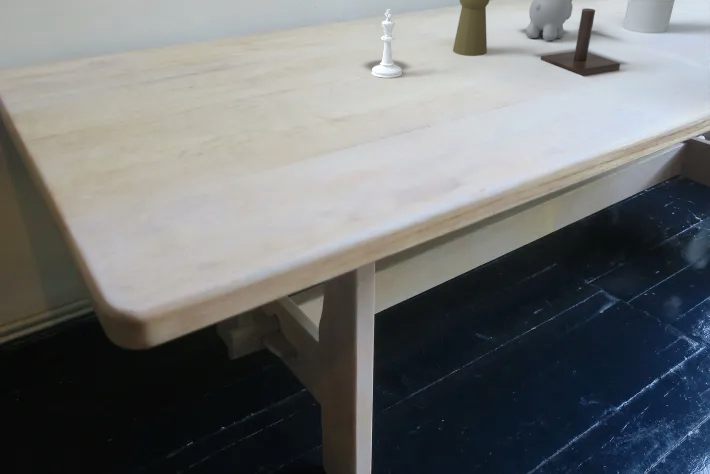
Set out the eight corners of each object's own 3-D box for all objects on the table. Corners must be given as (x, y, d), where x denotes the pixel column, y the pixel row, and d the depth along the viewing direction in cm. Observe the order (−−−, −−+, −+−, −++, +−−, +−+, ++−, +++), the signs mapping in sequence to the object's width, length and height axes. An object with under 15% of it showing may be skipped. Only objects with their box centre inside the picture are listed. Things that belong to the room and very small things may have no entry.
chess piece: (379, 79, 104) (381, 13, 99) (366, 71, 108) (367, 7, 103) (407, 75, 106) (410, 11, 101) (393, 67, 110) (395, 5, 105)
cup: (669, 33, 131) (685, -32, 125) (661, 41, 125) (677, -26, 119) (627, 27, 135) (640, -36, 129) (617, 36, 129) (630, -30, 123)
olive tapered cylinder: (466, 45, 123) (472, -18, 117) (493, 51, 119) (500, -14, 114) (446, 50, 119) (450, -14, 114) (473, 57, 116) (479, -9, 110)
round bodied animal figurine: (583, 33, 131) (591, -12, 127) (551, 44, 124) (559, -4, 119) (551, 27, 135) (557, -17, 131) (518, 37, 128) (524, -9, 124)
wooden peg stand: (619, 70, 109) (630, 12, 104) (576, 77, 106) (586, 17, 101) (581, 57, 116) (590, 2, 111) (539, 63, 113) (548, 6, 108)
